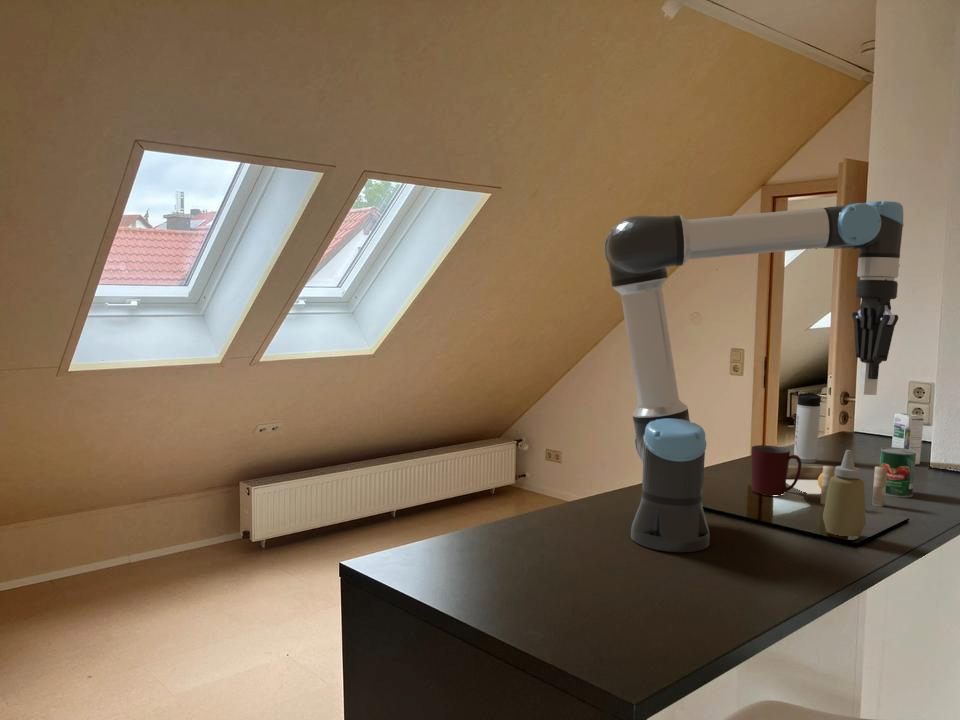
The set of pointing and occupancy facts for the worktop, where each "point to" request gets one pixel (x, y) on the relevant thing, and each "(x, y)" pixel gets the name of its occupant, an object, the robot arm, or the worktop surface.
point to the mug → (771, 469)
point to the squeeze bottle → (845, 500)
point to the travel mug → (807, 427)
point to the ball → (820, 480)
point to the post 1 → (826, 481)
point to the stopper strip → (805, 472)
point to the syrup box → (908, 433)
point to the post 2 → (879, 486)
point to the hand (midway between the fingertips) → (868, 394)
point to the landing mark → (806, 486)
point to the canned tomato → (898, 470)
